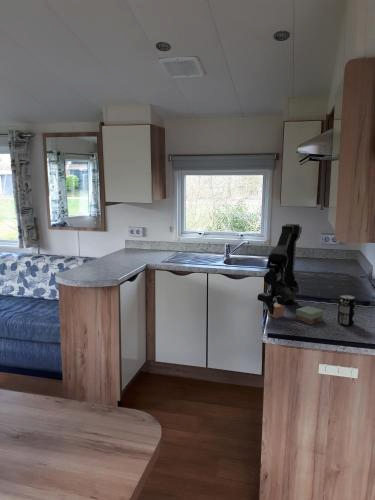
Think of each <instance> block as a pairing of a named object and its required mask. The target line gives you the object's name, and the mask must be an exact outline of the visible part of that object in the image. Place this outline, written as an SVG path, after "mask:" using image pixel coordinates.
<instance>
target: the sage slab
mask: <svg viewBox="0 0 375 500" xmlns="http://www.w3.org/2000/svg"><path fill="white" fill-rule="evenodd" d="M323 312H324V311H323V310H321V309H320V308H316V307H312V306H309V305H306V306H303V307H299V308H296V309H295V316H296V315H298V316H301V317H305V318H308V319H311V320H312V319H315V318H318V317H321V316H323V315H324V313H323Z"/></svg>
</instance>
